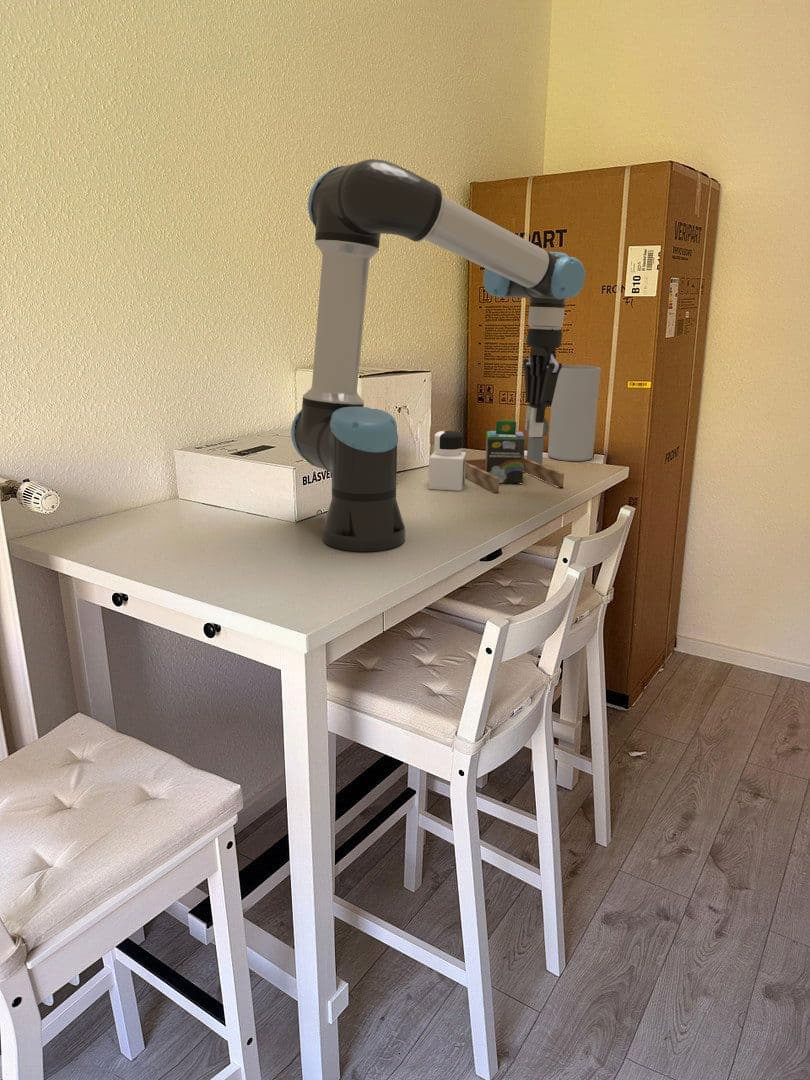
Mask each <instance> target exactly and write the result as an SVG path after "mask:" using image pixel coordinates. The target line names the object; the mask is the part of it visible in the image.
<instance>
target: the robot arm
mask: <svg viewBox="0 0 810 1080" xmlns="http://www.w3.org/2000/svg"><path fill="white" fill-rule="evenodd" d="M307 209H308V217H309V218H310V221H311V222H312V224H313V226H314V228H315V231H314V232H315V235H314V237H315V238H314V244H315V245H316V247H317V248H318V249H319V251H320V252H321V257H322V258H321V269H320V279H319V281H320V282H319V293H318V294H319V295H318V307H317V317H316V332H315V345H314V357H313V366H312V370H313V371H312V380H311V381H312V384H311V387H310V389H308V390H307V391H305V393H304V394H303V395H302V402H301V409H300V411H299V412H298V413H297V414H296V415H295V417H294V418H293V421H292V423H291V428H290V430H291V431H290V437H291V442H292V445H293V447H294V449H295V451H296V452H297V454H298V455H299V456H300V457H301V458H302V459H303V460H305V461H306V462H307V463H309V464H310V465H311V466H313V467H317V468H319V469H322V470H324V471H327V472H329V473H331V500H330V503H329V507H328V510H327V513H326V516H325V519H324V523H323V526H322V541H323V543H324V544H325V545H327V546H329V547H332V548H335V549H339V550H344V551H351V552H377V551H385V550H390V549H393V548H396V547H399V546H402V545H403V543H405V542H406V541H405V540H406V527H405V523H404V521H403V518H402V514H401V510H400V507H399V504H398V501H397V472H398V471H397V469H398V467H397V465H398V443H399V435H398V434H399V433H398V427H397V426H398V425H397V421H396V418H394V416H393V415H392V414H390V412H386V411H384V410H382V409H379V408H370V407H367V406H364V405H365V403H364V400H363V399H362V397H361V395H359V393H358V384H359V373H360V363H361V351H362V340H363V331H364V330H363V329H364V321H365V320H364V319H365V312H366V311H365V310H366V302H367V298H366V297H367V288H368V279H369V268H370V261H371V259H372V257H374V256H375V255H376V254H377V253H378V252H379V251H380V240H381V235H383V234H385V235H396V236H401V237H404V238H406V239H409V240H411V241H413V242H416V243H420V242H422V241H424V240H425V241H427V242H429V243H431V244H432V245H433V244H434V245H435V246H438V247H440V248H442V249H444V250H446V251H449V252H451V254H452V253H453V254H455V255H456V256H459V257H460V258H463V259H466V260H468V261H470V262H472V263H474V264H476V265H479V266H480V267H482V268H483V269H484V272H483V287H484V290H485V291H486V293H487V294H489V296H492V297H499V298H501V299H502V298H513V299H514V298H516V299H529V307H528V318H527V325H528V326H529V327H530V328H528V330H526V331H527V333H526V345H527V347H531V349H530V353H529V357H528V358H524V359H523V361H522V362H523V367H524V387H525V388H524V389H525V393H524V394H525V403H527V404H528V405H529V407H531V411H530V424H529V435H528V436H529V437H542V434H543V424H544V418H545V412H546V409H547V408H548V407H551V405H552V401H553V396H554V392H555V388H556V383H557V379H558V374H559V372H560V370H561V368H562V365H563V364H562V363H561V362H557V360H556V358H557V353H556V349H557V348H558V349H559V348H561V347H562V342H563V341H562V340H563V331H562V330H560V329H561V328H563V327H564V326H563V325H564V319H565V318H564V317H565V307H566V299H571V298H575V297H576V296H577V295H579V293H580V292H581V291H582V289H583V288H584V285H585V281H586V270H585V266H584V264H583V263H582V261H580V260H579V259H578V258H576V257H574V256H568V254H566V253H564V252H560V251H559V252H558V251H548V250H546V249H544V248H542V247H540V246H538V245H536V244H534V243H532V242H531V241H528V240H526V239H525V238H523V237H521V236H519V235H517V234H516V233H513V232H512V231H510V230H508V229H506V228H504V227H502V226H500V225H498V224H496V223H495V222H493V221H491V220H489V219H487V218H486V217H484V216H481V215H479V214H477V213H475V212H474V211H472V210H470V209H469V208H466V207H465V206H462V205H461V204H458V203H457V202H455V201H453V200H451V199H450V198H448V197H446V196H444V193H443V190H442V188H441V187H440V186H438V185H437V184H435V183H433V182H431V181H430V180H429V179H426V178H424V177H422V176H421V175H418V174H416V173H414V172H413V171H410V169H409V170H408V169H406V168H404V167H402V166H400V165H398V164H395V163H392V162H390V161H387V160H384V159H383V160H382V159H377V158H372V159H364V160H362V161H361V160H360V161H358V162H354V163H351V164H347V165H341V166H335V167H334V168H332V169H330V170H328V171H326V172H325V173H323V174H322V175H321V176H319V177H318V178H317V180H316V181H314V184H313V186H312V187H311V189H310V192H309V194H308V201H307ZM528 436H527V437H528Z"/></svg>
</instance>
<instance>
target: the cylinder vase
mask: <svg viewBox="0 0 810 1080" xmlns="http://www.w3.org/2000/svg"><path fill="white" fill-rule="evenodd" d="M601 369H602V367H599V366H592V365H579V364H578V365H577V364H576V365H573V364H562V368H561V370H560V372H559V374H558V379H557V383H556V388H555V392H554V396H553V401H552V405H551V406H550V407H551V408H550V418H549V430H548V433H549V434H548V444H547V445H548V447H547V455H548V457H549V458H551V459H554V460H558V461H565V462H586V461H590V460H592V458H593V457H594V447H595V438H596V437H595V436H596V428H597V427H596V425H597V417H598V416H597V415H598V414H597V413H598V405H599V394H600V382H601V372H602V370H601Z"/></svg>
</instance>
